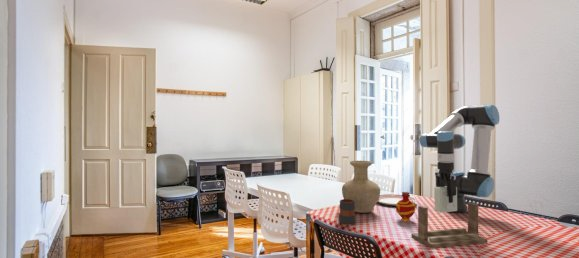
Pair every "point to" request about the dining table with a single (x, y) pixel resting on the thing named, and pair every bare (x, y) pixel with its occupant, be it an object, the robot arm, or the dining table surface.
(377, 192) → the vase
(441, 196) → the cream rectangular block
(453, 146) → the robot arm
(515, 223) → the dining table surface
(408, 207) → the potion bottle
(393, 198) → the dinner plate
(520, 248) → the dining table surface
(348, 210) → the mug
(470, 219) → the wooden rack
